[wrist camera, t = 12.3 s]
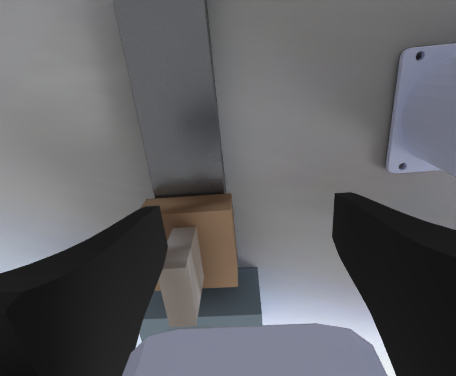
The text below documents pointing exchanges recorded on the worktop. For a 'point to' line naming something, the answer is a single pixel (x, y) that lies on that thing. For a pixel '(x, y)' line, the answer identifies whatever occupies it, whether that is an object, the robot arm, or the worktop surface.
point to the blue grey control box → (213, 307)
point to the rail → (174, 93)
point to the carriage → (195, 252)
